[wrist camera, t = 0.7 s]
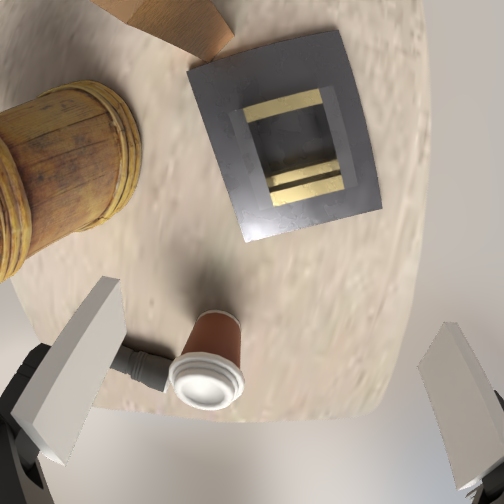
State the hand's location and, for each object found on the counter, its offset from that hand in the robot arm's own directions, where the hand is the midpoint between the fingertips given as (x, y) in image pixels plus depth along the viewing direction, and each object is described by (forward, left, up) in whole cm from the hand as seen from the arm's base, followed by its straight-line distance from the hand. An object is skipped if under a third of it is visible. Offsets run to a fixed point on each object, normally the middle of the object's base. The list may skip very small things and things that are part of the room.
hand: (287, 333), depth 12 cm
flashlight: (+20, -30, -25) cm, 44 cm away
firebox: (-4, +2, -25) cm, 25 cm away
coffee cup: (+18, -14, -25) cm, 34 cm away
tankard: (-11, -25, -25) cm, 37 cm away
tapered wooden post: (-17, -3, -25) cm, 30 cm away
